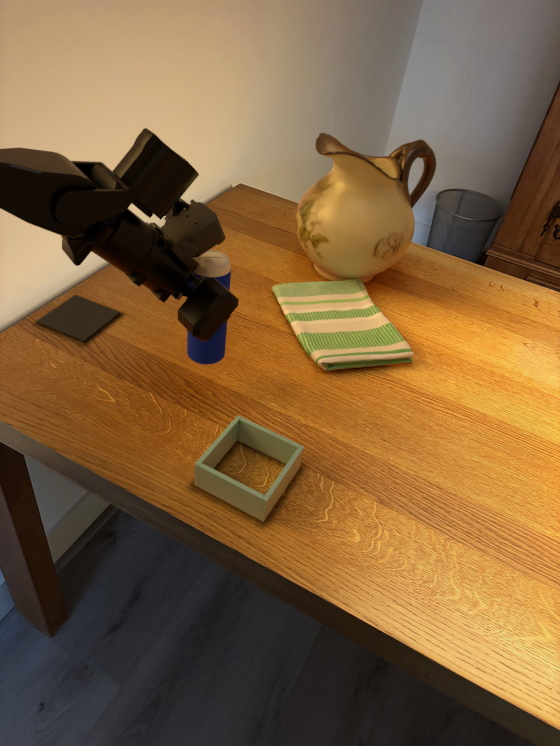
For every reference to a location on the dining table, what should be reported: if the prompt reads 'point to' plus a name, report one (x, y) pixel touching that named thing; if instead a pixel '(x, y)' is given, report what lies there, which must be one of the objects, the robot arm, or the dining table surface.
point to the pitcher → (361, 209)
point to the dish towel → (341, 325)
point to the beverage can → (214, 349)
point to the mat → (78, 318)
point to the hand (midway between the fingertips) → (217, 307)
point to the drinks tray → (235, 490)
